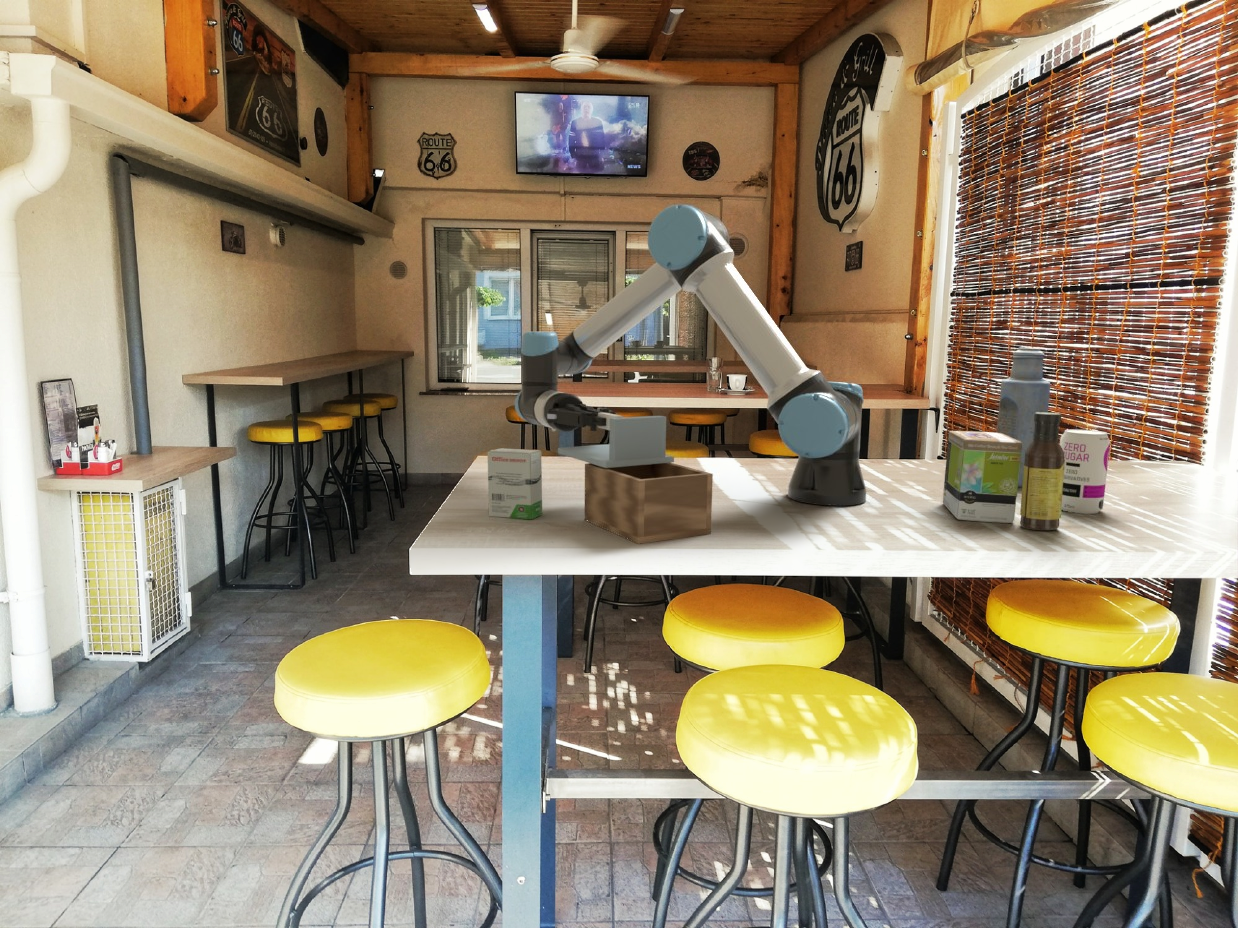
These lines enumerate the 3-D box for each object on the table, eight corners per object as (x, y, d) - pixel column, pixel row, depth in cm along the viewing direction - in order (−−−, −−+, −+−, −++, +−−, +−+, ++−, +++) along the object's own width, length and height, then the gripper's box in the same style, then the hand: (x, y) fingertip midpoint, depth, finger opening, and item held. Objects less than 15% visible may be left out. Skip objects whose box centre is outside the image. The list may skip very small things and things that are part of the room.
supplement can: (1099, 507, 160) (1108, 430, 158) (1104, 516, 153) (1113, 435, 150) (1052, 503, 164) (1060, 428, 161) (1054, 511, 156) (1062, 432, 154)
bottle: (982, 480, 188) (993, 346, 183) (1019, 478, 191) (1031, 347, 186) (1011, 488, 179) (1024, 348, 174) (1050, 486, 181) (1064, 348, 177)
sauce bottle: (1067, 531, 141) (1079, 414, 138) (1035, 533, 140) (1047, 415, 136) (1040, 522, 147) (1051, 410, 144) (1010, 524, 146) (1020, 411, 143)
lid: (557, 453, 153) (557, 409, 151) (621, 448, 159) (622, 407, 158) (605, 468, 137) (606, 419, 136) (673, 462, 144) (675, 416, 143)
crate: (584, 520, 145) (584, 463, 143) (652, 512, 152) (653, 458, 150) (638, 543, 130) (639, 480, 128) (710, 533, 136) (712, 473, 135)
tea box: (1016, 524, 146) (1024, 441, 144) (955, 521, 148) (962, 438, 146) (995, 506, 161) (1002, 430, 158) (941, 503, 162) (946, 428, 160)
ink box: (543, 514, 149) (543, 449, 147) (531, 520, 144) (531, 453, 142) (499, 510, 152) (499, 446, 150) (487, 516, 147) (486, 450, 145)
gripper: (588, 428, 170) (650, 442, 150) (530, 431, 163) (586, 447, 143) (589, 391, 169) (651, 401, 149) (530, 393, 162) (586, 403, 142)
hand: (619, 423), depth 146 cm, fingers closed
